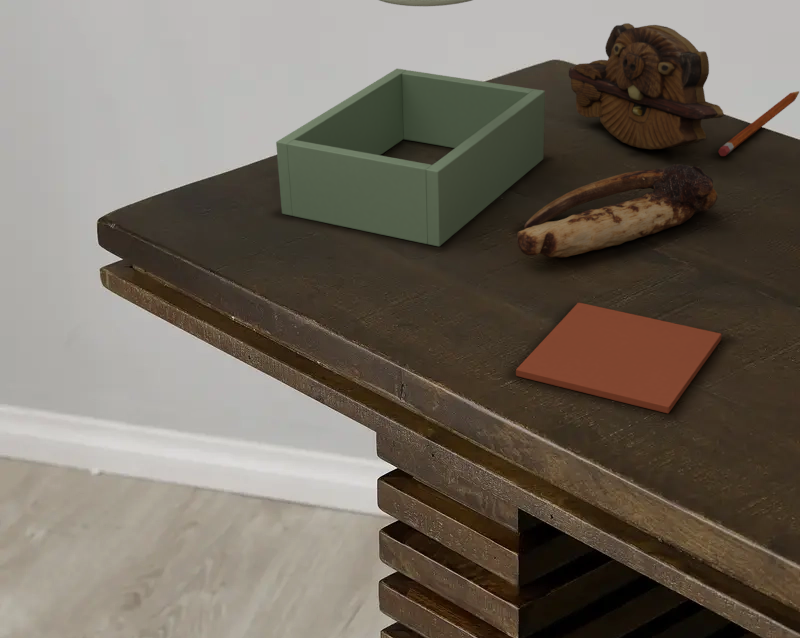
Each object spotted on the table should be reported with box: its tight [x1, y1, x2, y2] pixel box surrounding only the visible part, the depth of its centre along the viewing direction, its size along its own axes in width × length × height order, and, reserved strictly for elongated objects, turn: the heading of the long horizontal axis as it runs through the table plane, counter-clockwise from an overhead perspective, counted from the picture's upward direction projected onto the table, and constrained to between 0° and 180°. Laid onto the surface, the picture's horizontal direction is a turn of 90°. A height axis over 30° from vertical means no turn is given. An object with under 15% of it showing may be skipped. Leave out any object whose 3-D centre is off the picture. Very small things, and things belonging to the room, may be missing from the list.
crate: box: [275, 68, 546, 247], centre depth 111 cm, size 14×19×6 cm
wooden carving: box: [568, 22, 725, 150], centre depth 117 cm, size 16×5×10 cm, turn 40°
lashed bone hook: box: [516, 163, 719, 258], centre depth 103 cm, size 9×5×18 cm
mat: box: [515, 302, 723, 414], centre depth 88 cm, size 10×10×1 cm
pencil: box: [717, 90, 800, 157], centre depth 122 cm, size 1×18×1 cm, turn 146°
